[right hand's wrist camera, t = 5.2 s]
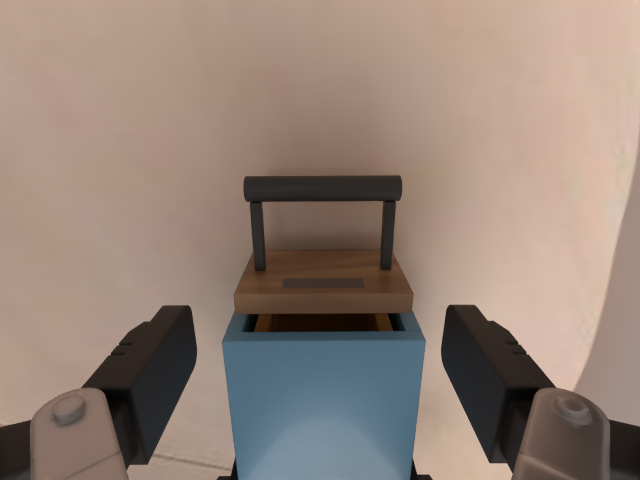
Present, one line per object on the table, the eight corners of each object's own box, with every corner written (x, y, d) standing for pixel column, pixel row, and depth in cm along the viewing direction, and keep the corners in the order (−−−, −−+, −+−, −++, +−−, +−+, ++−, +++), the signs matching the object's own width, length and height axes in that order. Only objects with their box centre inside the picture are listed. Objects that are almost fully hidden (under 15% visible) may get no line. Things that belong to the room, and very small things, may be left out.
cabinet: (249, 274, 26) (221, 341, 18) (395, 273, 26) (426, 340, 18) (263, 451, 32) (246, 555, 24) (382, 450, 32) (401, 554, 24)
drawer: (247, 168, 22) (222, 188, 17) (397, 167, 22) (423, 187, 17) (266, 431, 30) (254, 507, 24) (379, 430, 30) (393, 506, 24)
